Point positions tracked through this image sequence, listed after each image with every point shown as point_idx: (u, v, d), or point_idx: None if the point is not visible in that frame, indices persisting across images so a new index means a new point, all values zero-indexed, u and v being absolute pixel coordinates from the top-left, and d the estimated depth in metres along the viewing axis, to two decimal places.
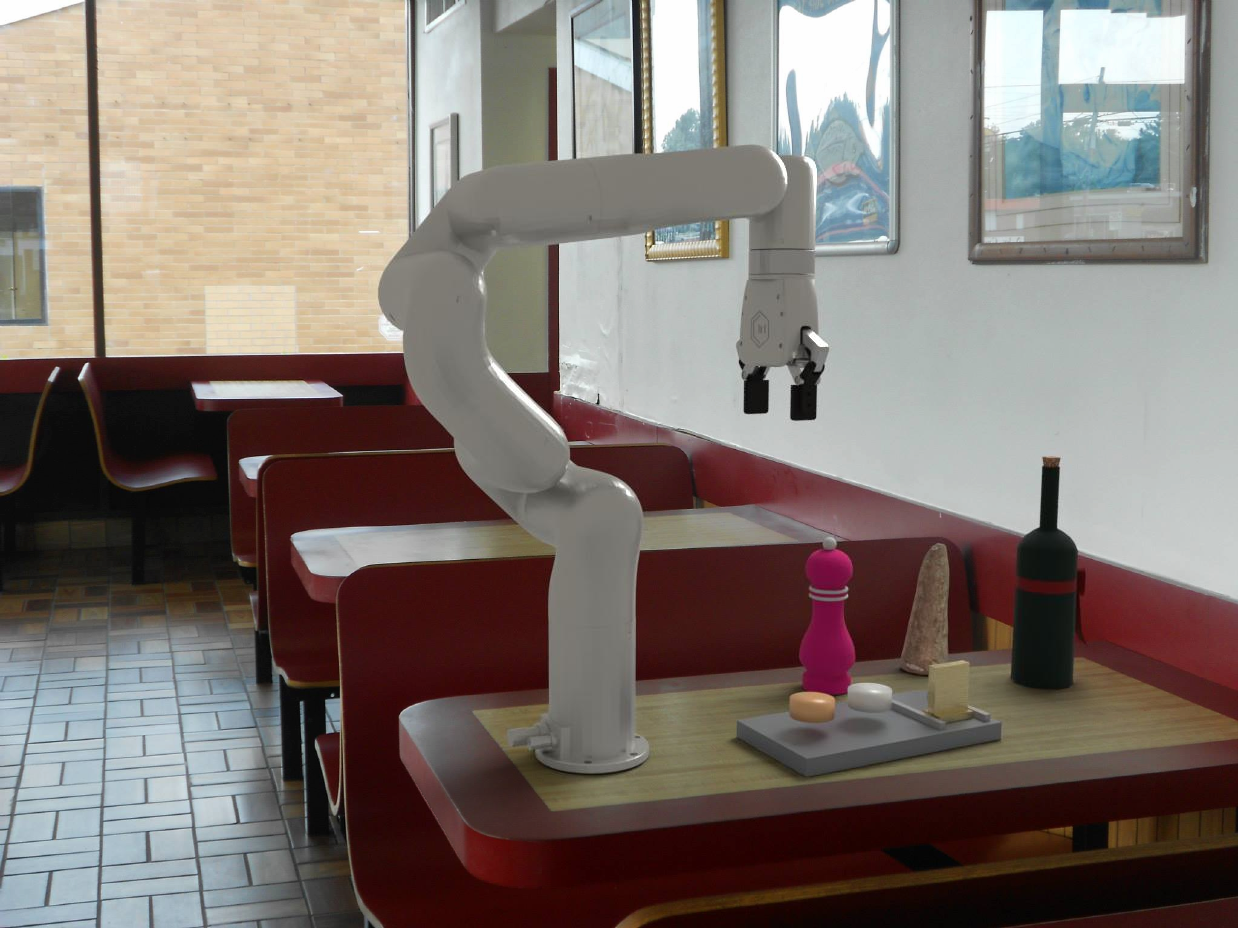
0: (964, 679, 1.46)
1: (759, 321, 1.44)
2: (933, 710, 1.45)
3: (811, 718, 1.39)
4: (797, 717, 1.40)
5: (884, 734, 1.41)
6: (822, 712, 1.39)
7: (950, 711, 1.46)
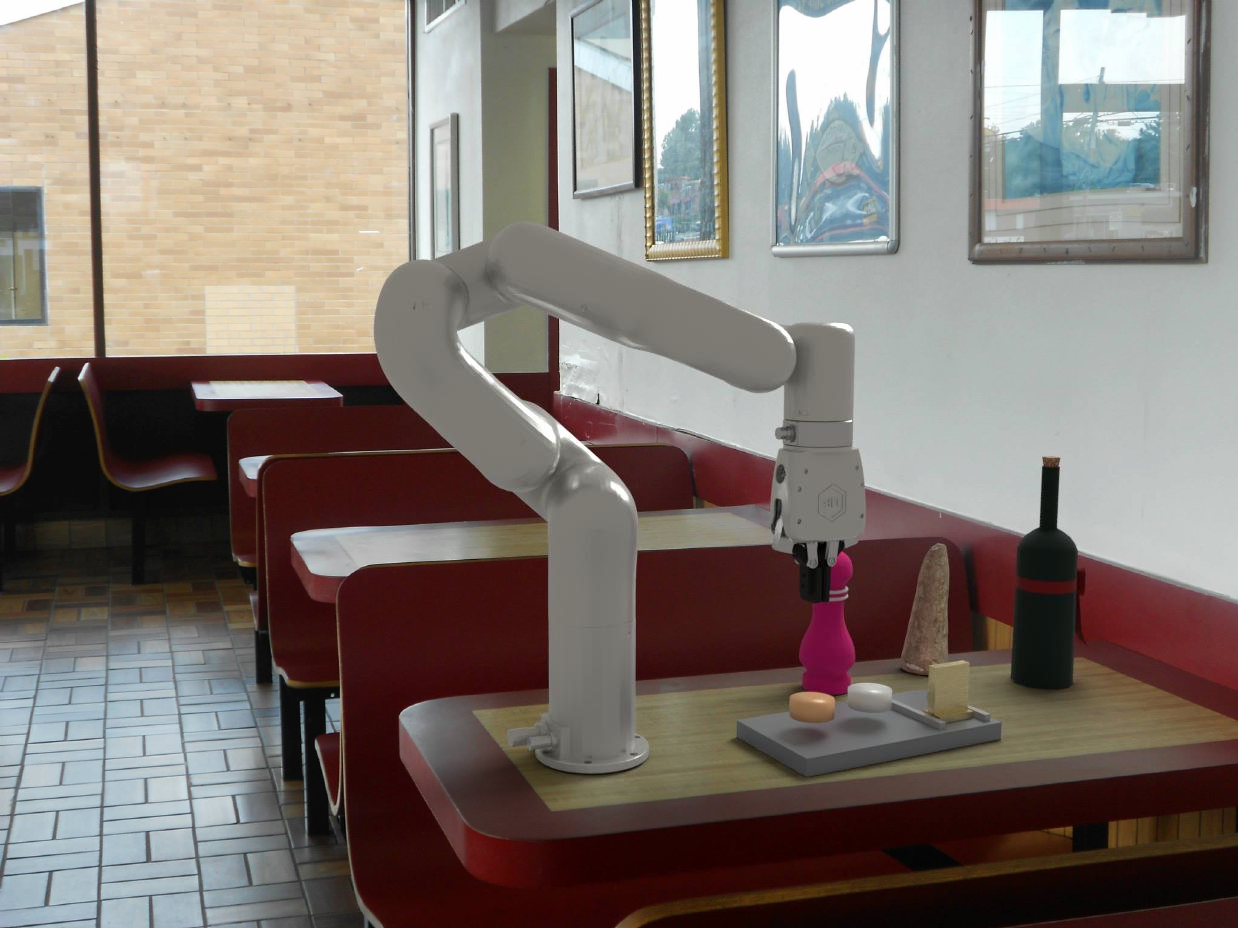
0: (964, 679, 1.46)
1: (830, 495, 1.36)
2: (933, 710, 1.45)
3: (811, 718, 1.39)
4: (797, 717, 1.40)
5: (884, 734, 1.41)
6: (822, 712, 1.39)
7: (950, 711, 1.46)
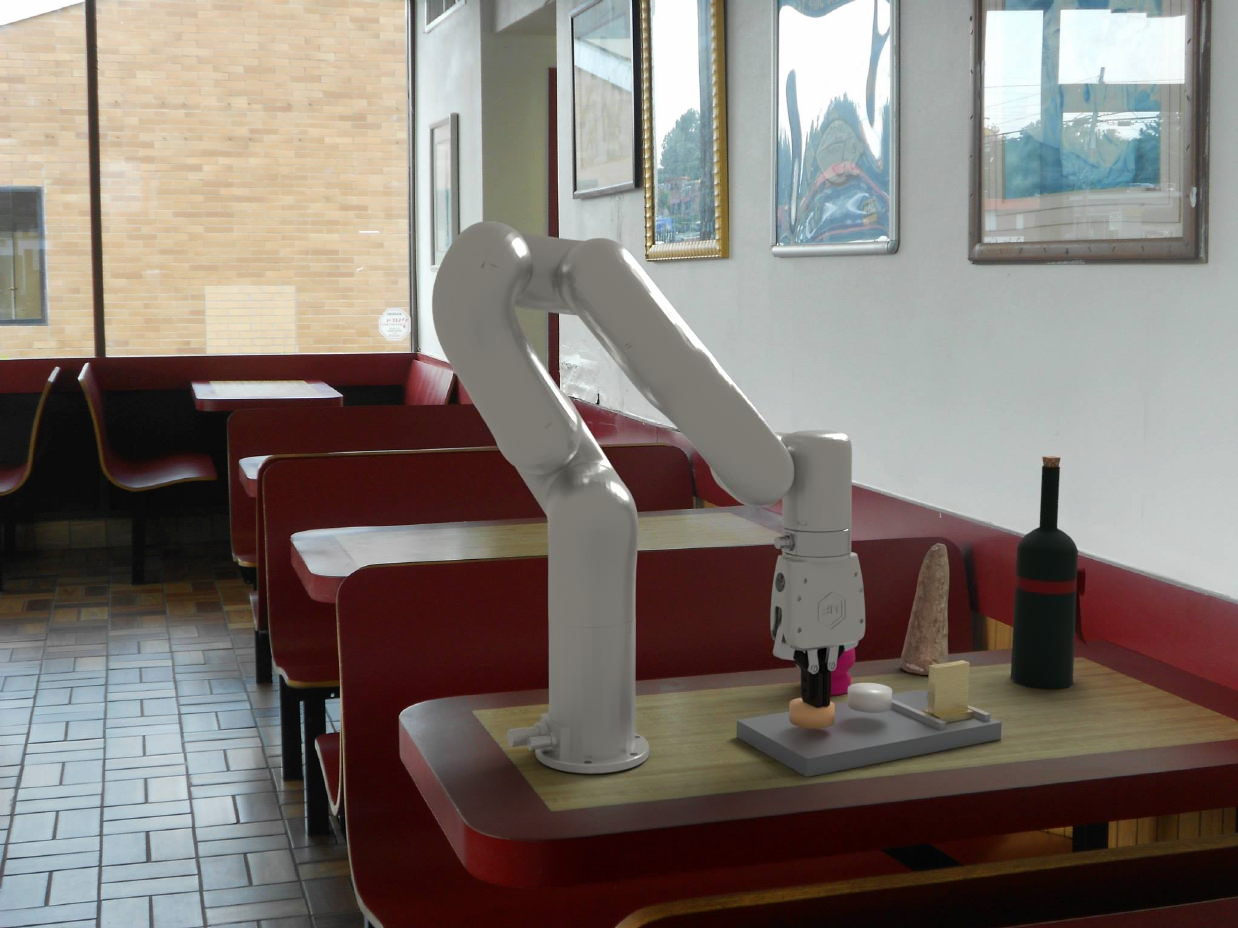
0: (964, 679, 1.46)
1: (829, 602, 1.38)
2: (933, 710, 1.45)
3: (811, 724, 1.39)
4: (797, 723, 1.40)
5: (884, 734, 1.41)
6: (822, 717, 1.39)
7: (950, 711, 1.46)
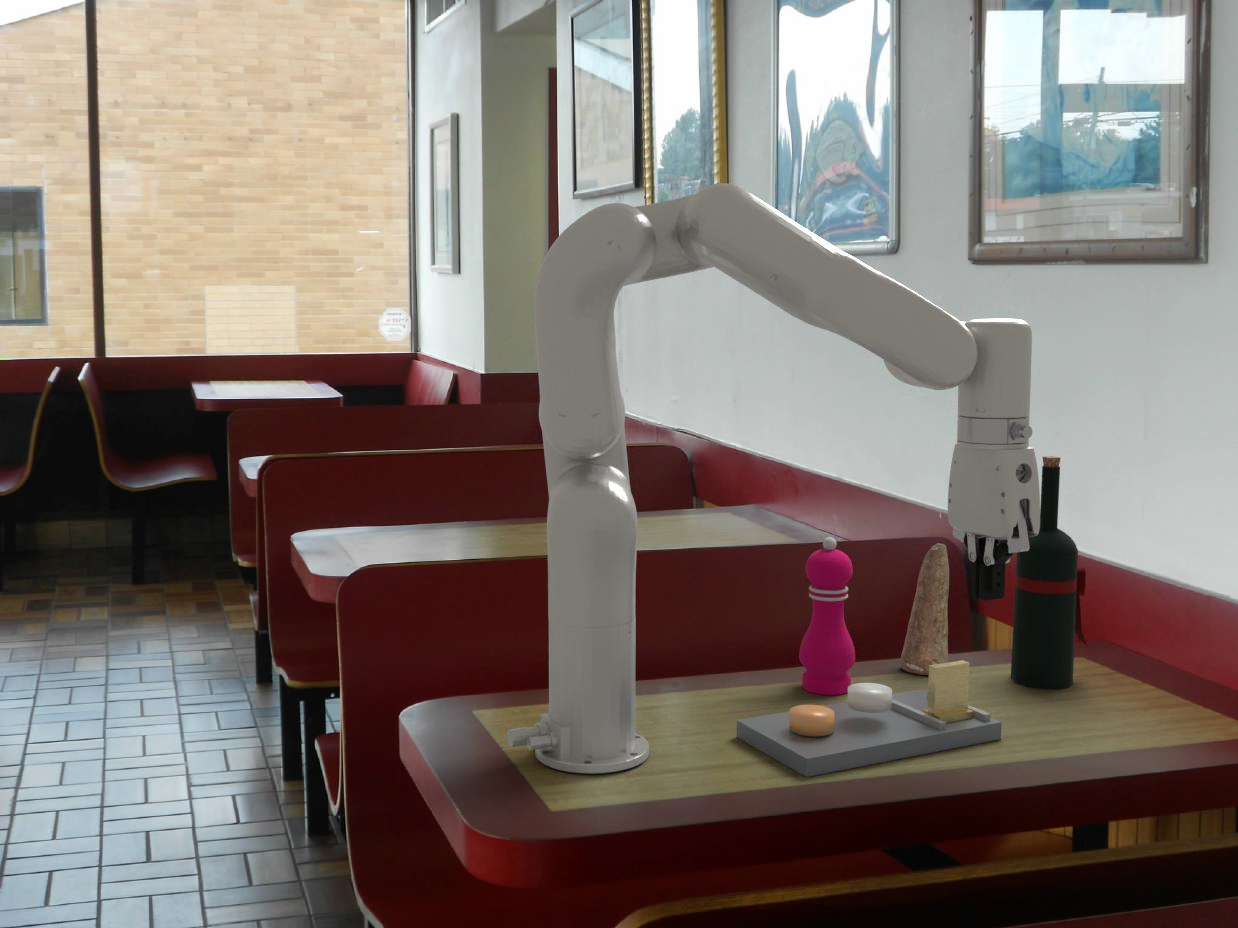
0: (964, 679, 1.46)
1: None
2: (933, 710, 1.45)
3: (811, 731, 1.39)
4: (797, 730, 1.40)
5: (884, 734, 1.41)
6: (822, 725, 1.39)
7: (950, 711, 1.46)
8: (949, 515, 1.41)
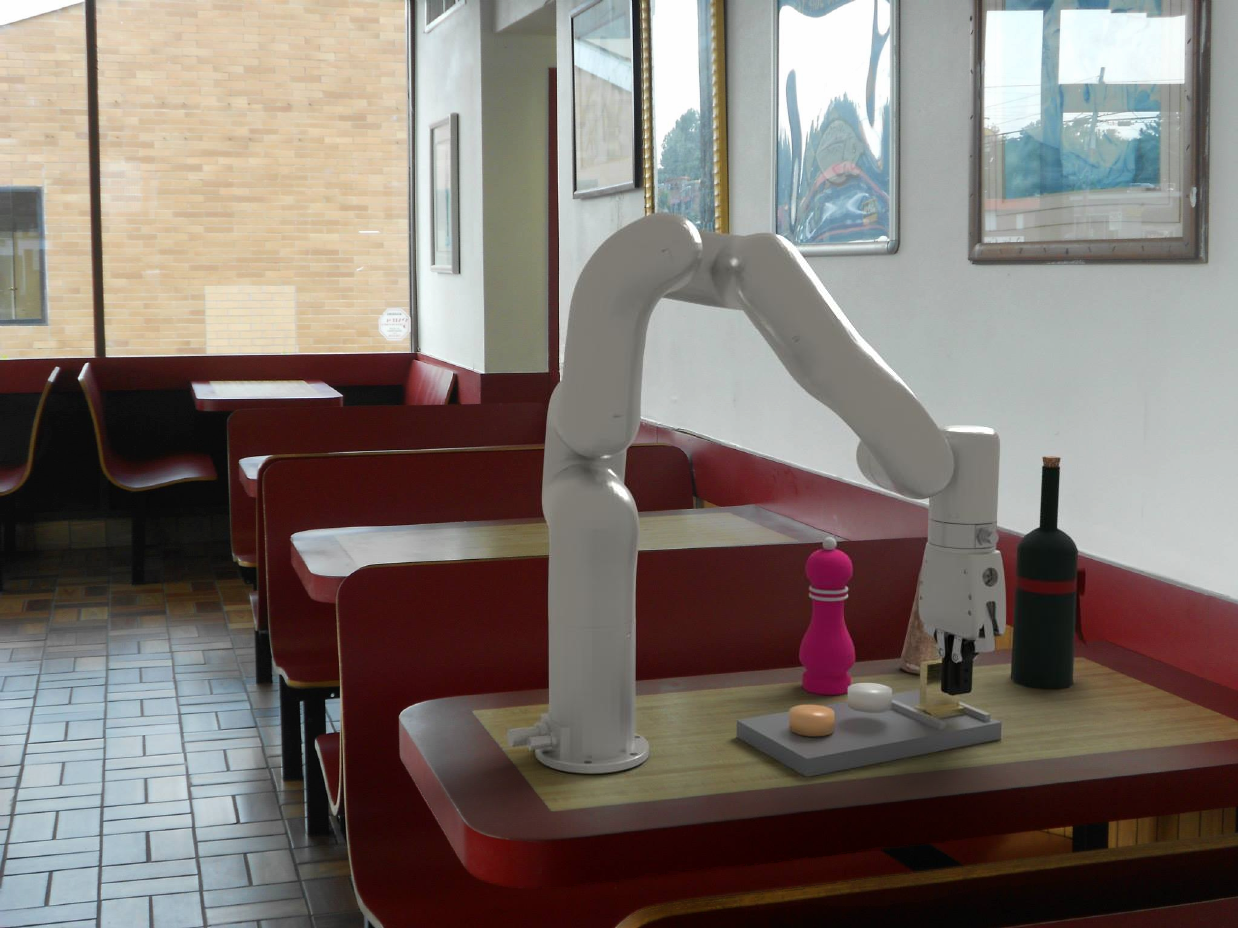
0: None
1: None
2: (924, 706, 1.46)
3: (811, 731, 1.39)
4: (797, 730, 1.40)
5: (884, 734, 1.41)
6: (822, 725, 1.39)
7: (941, 707, 1.47)
8: (920, 611, 1.47)
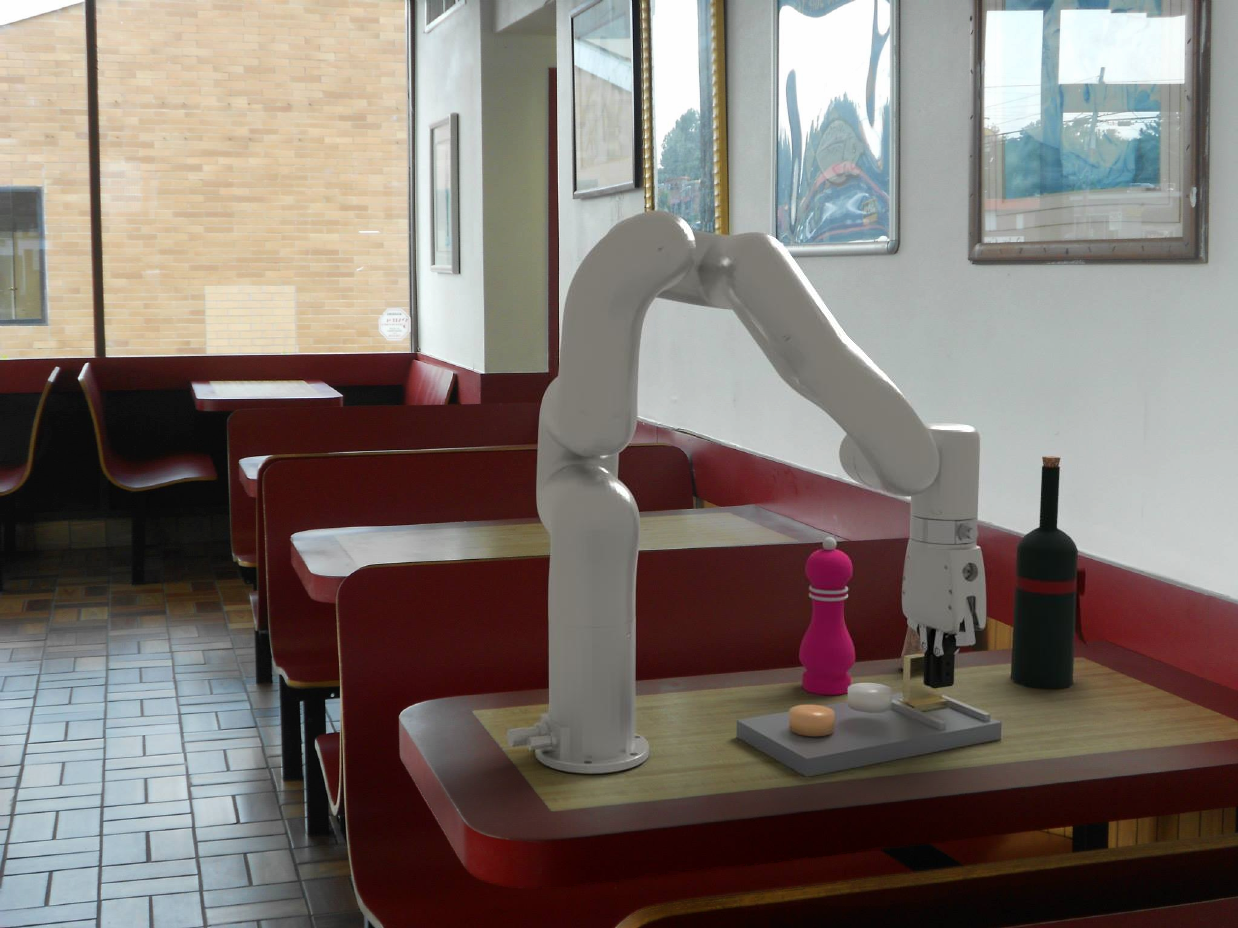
0: None
1: None
2: (908, 699, 1.49)
3: (811, 731, 1.39)
4: (797, 730, 1.40)
5: (884, 734, 1.41)
6: (822, 725, 1.39)
7: (924, 700, 1.50)
8: (903, 606, 1.50)
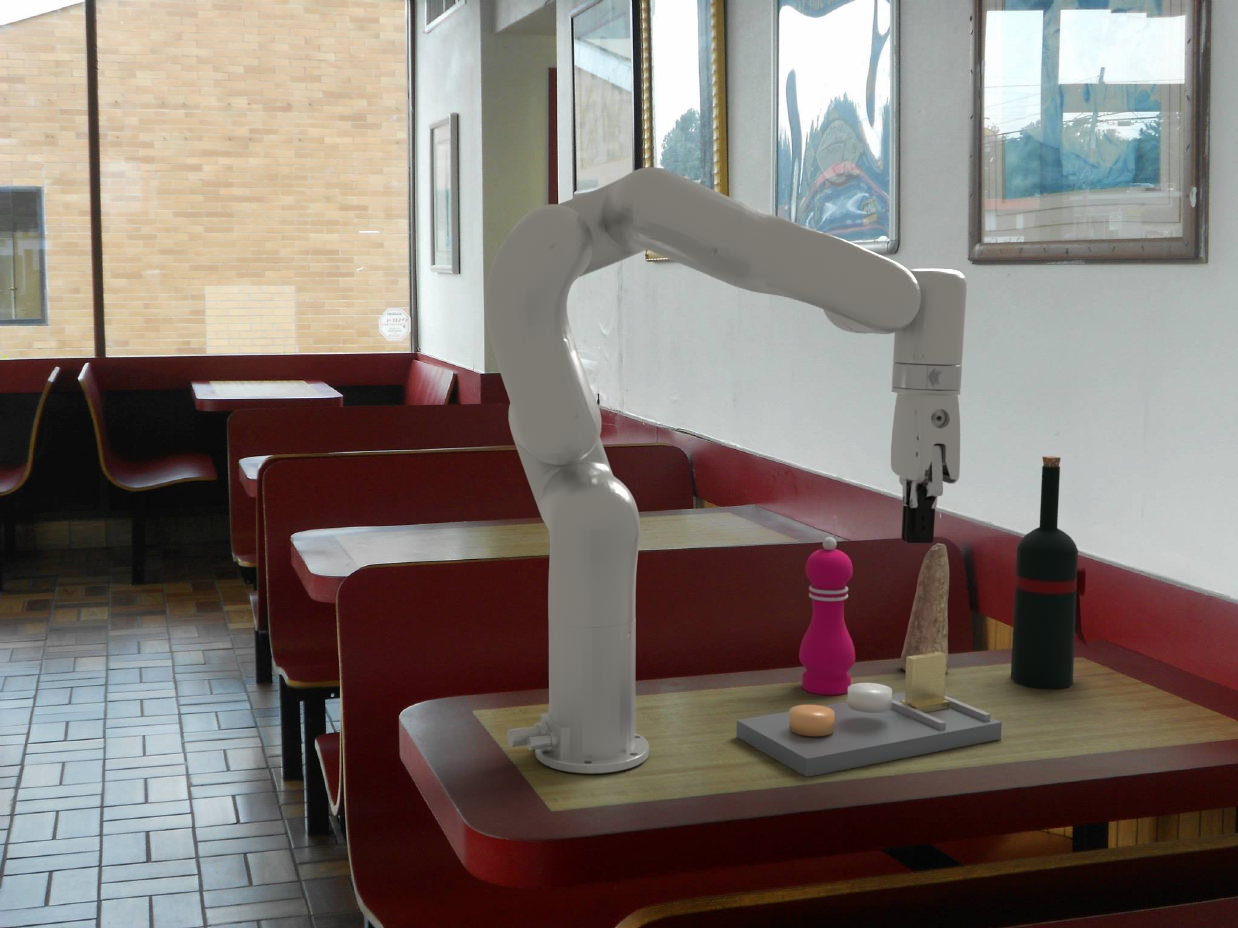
0: (941, 670, 1.50)
1: None
2: (910, 700, 1.49)
3: (811, 731, 1.39)
4: (797, 730, 1.40)
5: (884, 734, 1.41)
6: (822, 725, 1.39)
7: (927, 701, 1.50)
8: (891, 460, 1.46)
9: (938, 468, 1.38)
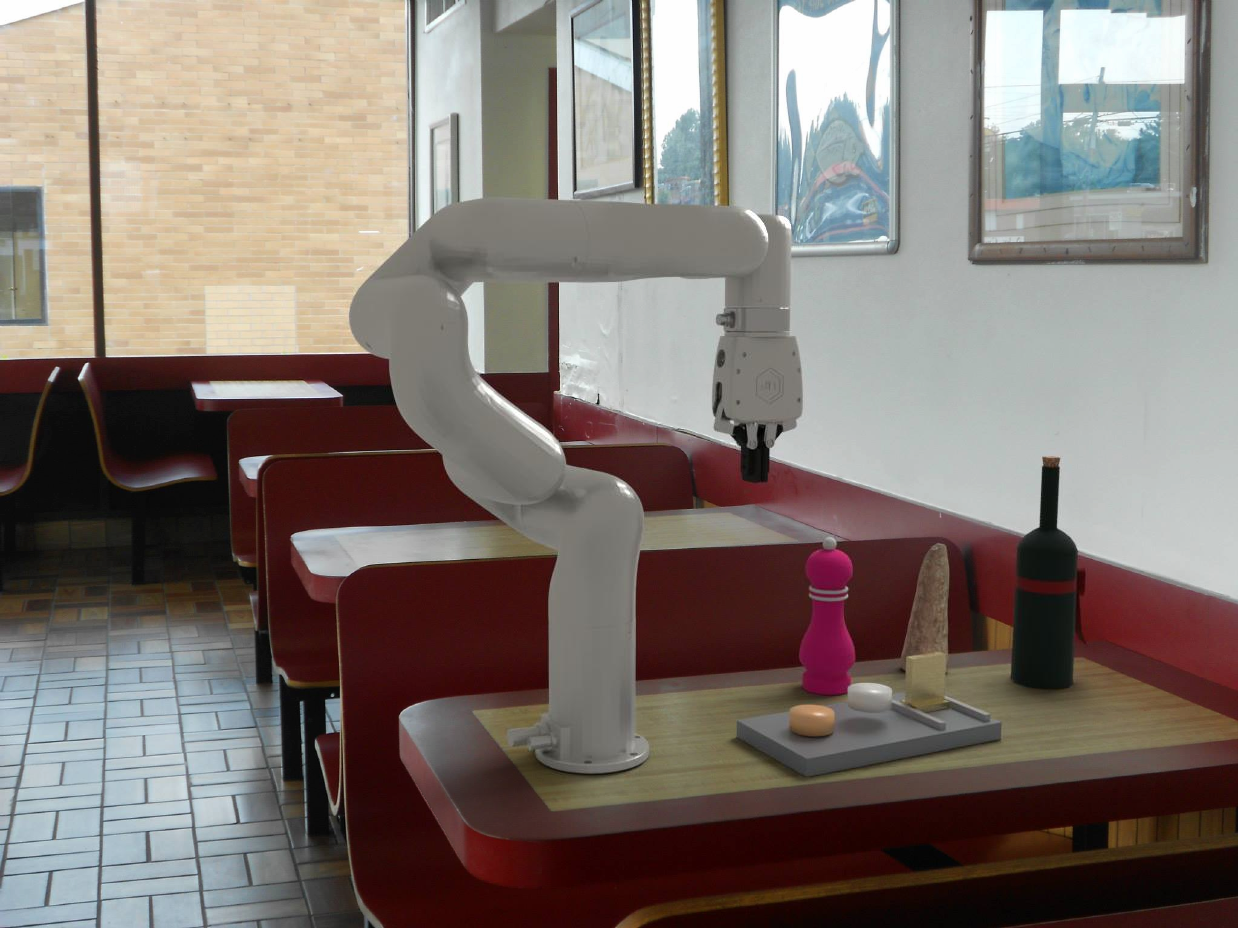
0: (941, 670, 1.50)
1: (767, 378, 1.44)
2: (910, 700, 1.49)
3: (811, 731, 1.39)
4: (797, 730, 1.40)
5: (884, 734, 1.41)
6: (822, 725, 1.39)
7: (927, 701, 1.50)
8: None
9: (721, 406, 1.45)
